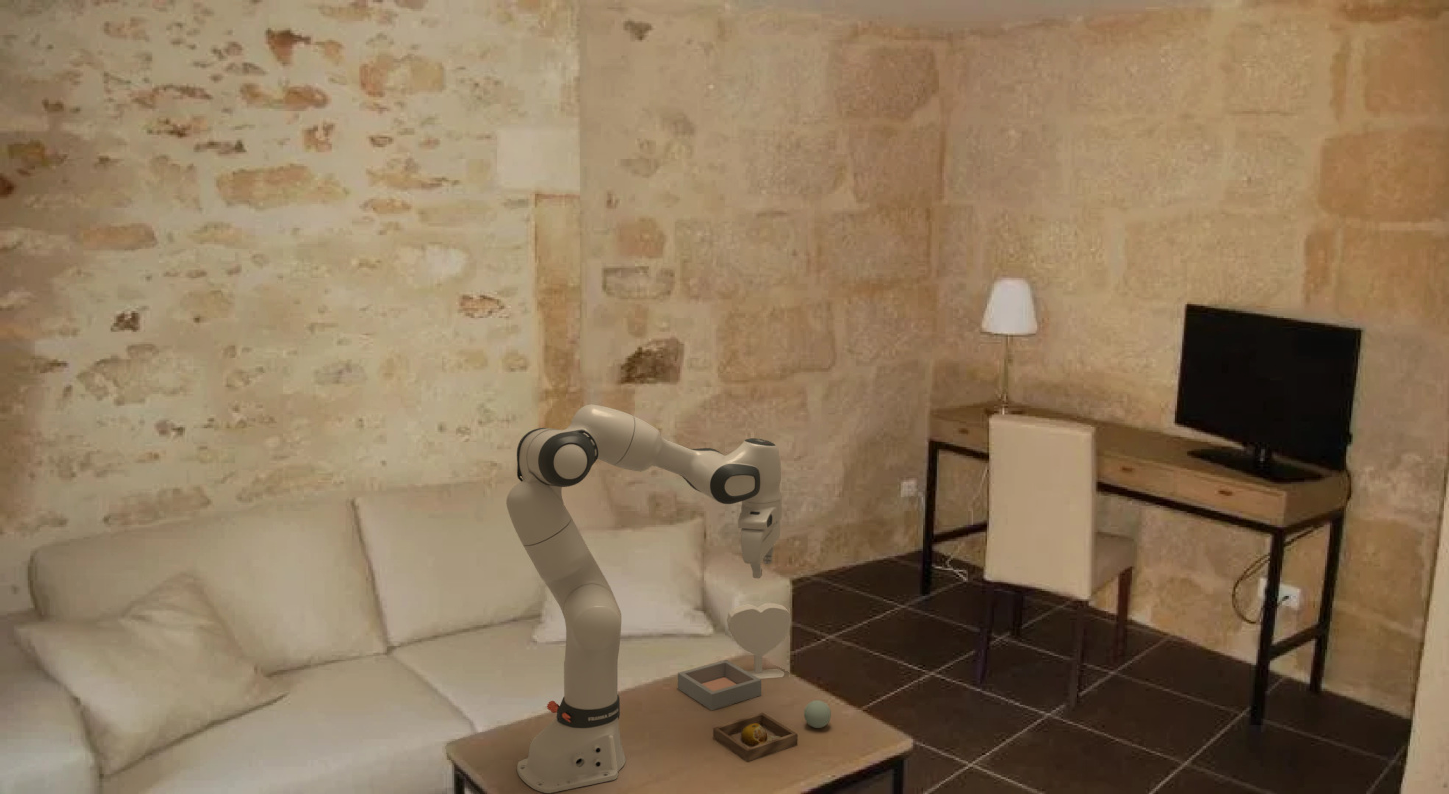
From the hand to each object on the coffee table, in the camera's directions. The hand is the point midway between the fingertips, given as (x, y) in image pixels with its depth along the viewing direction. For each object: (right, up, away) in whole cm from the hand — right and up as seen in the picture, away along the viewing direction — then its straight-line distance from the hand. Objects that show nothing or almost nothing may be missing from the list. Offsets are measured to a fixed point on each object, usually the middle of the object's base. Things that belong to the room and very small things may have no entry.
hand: (762, 570), depth 251 cm
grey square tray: (-10, -32, +19) cm, 39 cm away
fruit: (-1, -37, -6) cm, 38 cm away
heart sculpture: (0, -31, +30) cm, 43 cm away
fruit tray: (-2, -37, -5) cm, 37 cm away
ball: (+12, -33, +2) cm, 35 cm away
